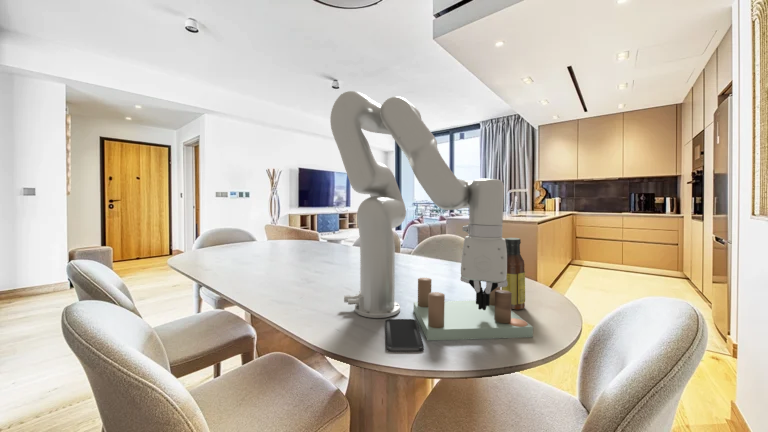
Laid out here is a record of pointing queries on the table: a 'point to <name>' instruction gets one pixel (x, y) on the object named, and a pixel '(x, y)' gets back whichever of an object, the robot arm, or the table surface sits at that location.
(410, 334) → the phone
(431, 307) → the stool seat
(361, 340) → the table surface
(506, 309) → the folding leg
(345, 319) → the table surface
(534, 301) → the table surface
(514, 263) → the sauce bottle
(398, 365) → the table surface
